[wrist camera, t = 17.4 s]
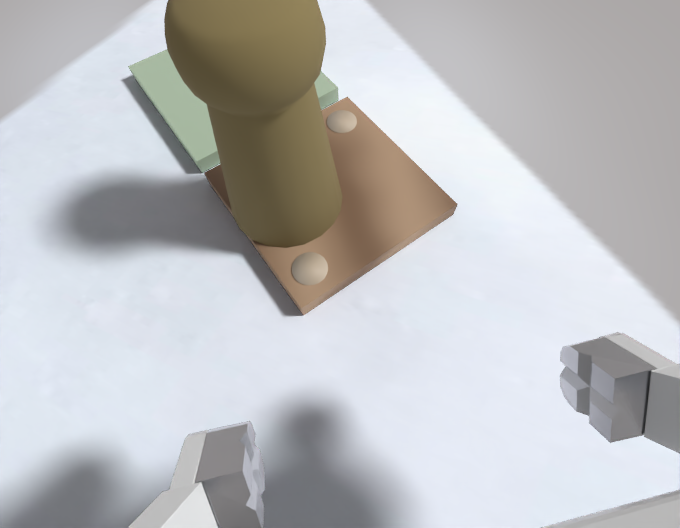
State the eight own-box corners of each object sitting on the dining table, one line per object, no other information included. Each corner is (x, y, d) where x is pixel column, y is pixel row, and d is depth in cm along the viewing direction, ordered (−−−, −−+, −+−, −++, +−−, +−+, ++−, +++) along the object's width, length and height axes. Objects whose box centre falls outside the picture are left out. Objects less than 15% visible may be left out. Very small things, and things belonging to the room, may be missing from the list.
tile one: (201, 172, 24) (195, 161, 23) (135, 79, 28) (127, 65, 27) (338, 100, 26) (337, 86, 25) (260, 23, 30) (257, 8, 29)
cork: (299, 268, 20) (250, 81, 10) (208, 213, 21) (87, 4, 12) (363, 184, 22) (374, -38, 12) (276, 139, 24) (223, -90, 14)
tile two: (303, 315, 20) (301, 308, 19) (209, 183, 24) (203, 172, 23) (453, 214, 22) (457, 203, 21) (347, 109, 26) (347, 96, 25)
